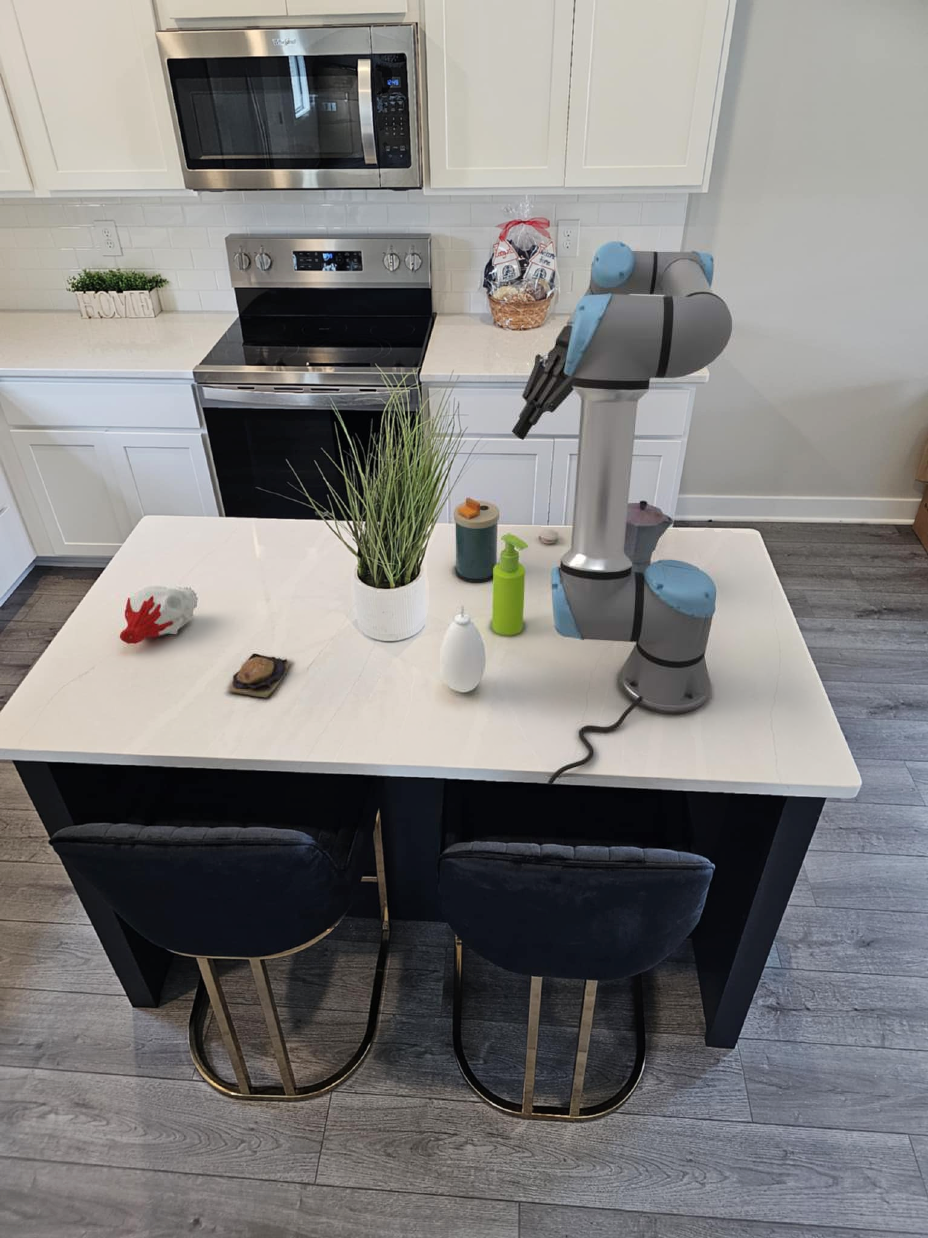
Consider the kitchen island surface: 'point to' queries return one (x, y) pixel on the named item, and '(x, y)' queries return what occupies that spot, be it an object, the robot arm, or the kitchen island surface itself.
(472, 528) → the travel mug
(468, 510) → the orange l-shaped block
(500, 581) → the soap dispenser
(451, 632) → the sauce bottle
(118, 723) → the kitchen island surface
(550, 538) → the macaroon
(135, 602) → the white decorated figurine
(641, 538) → the moka pot
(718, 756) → the kitchen island surface
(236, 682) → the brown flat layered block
